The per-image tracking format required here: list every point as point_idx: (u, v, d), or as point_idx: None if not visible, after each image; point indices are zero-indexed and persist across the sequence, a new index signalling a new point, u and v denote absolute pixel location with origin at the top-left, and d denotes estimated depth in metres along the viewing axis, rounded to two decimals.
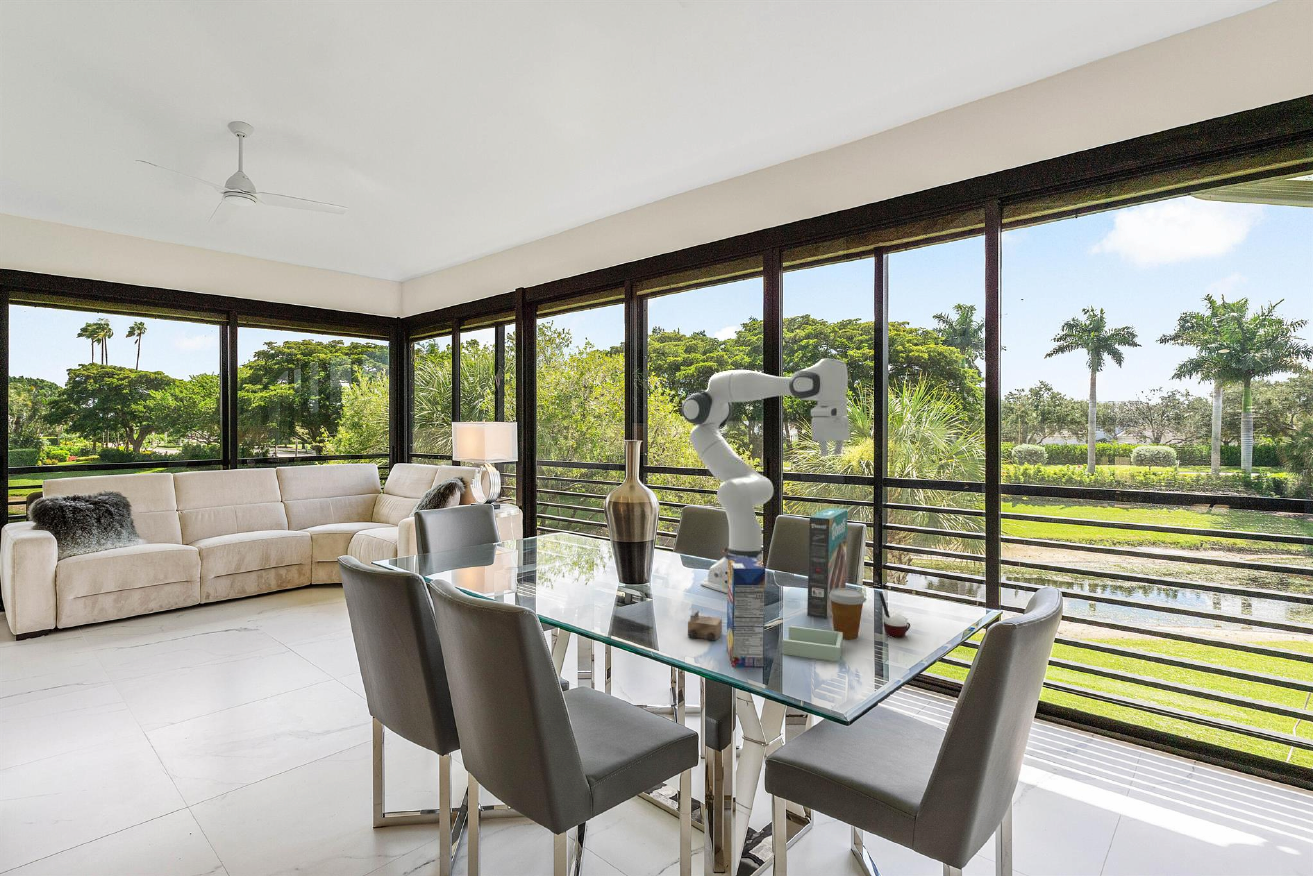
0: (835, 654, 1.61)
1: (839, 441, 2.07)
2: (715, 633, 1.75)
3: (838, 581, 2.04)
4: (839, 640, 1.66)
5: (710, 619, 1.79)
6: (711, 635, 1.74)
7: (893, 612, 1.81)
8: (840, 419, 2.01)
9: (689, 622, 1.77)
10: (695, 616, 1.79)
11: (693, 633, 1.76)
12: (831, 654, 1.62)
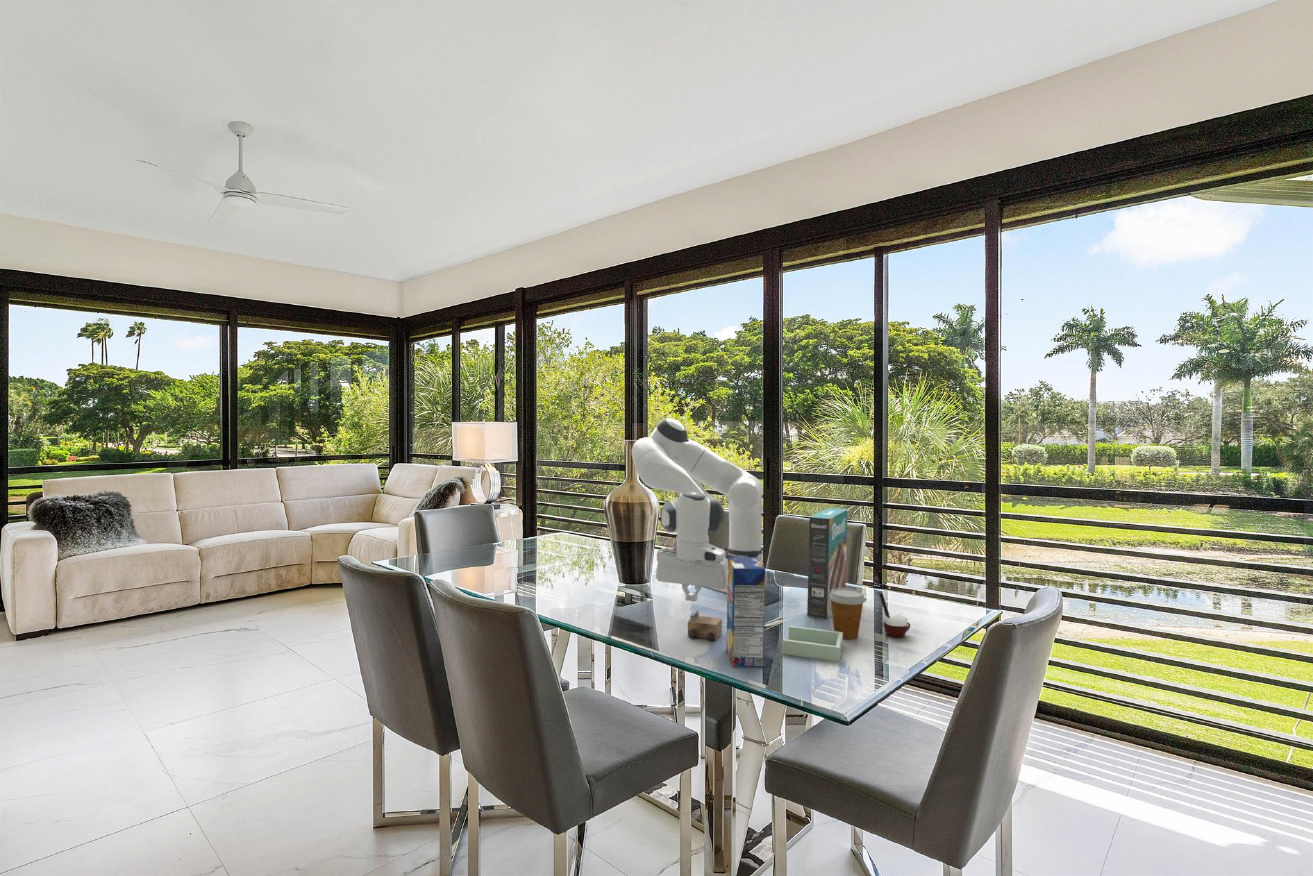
0: (835, 654, 1.61)
1: (688, 585, 1.80)
2: (715, 633, 1.75)
3: (838, 581, 2.04)
4: (839, 640, 1.66)
5: (710, 619, 1.79)
6: (711, 635, 1.74)
7: (893, 612, 1.81)
8: None
9: (689, 622, 1.77)
10: (695, 616, 1.79)
11: (693, 633, 1.76)
12: (831, 654, 1.62)
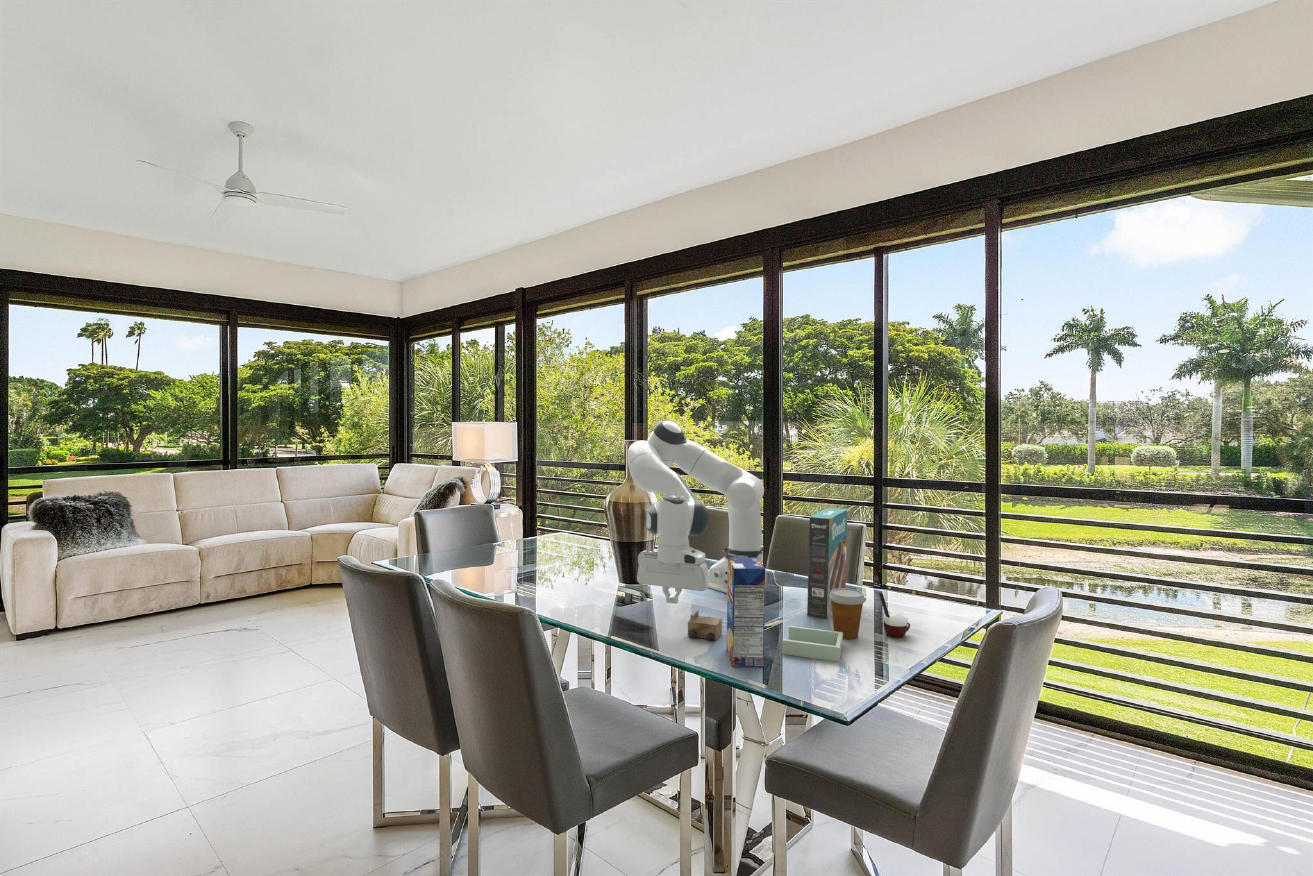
0: (835, 654, 1.61)
1: (668, 587, 1.82)
2: (715, 633, 1.75)
3: (838, 581, 2.04)
4: (839, 640, 1.66)
5: (710, 619, 1.79)
6: (711, 635, 1.74)
7: (893, 612, 1.81)
8: None
9: (689, 622, 1.77)
10: (695, 616, 1.79)
11: (693, 633, 1.76)
12: (831, 654, 1.62)
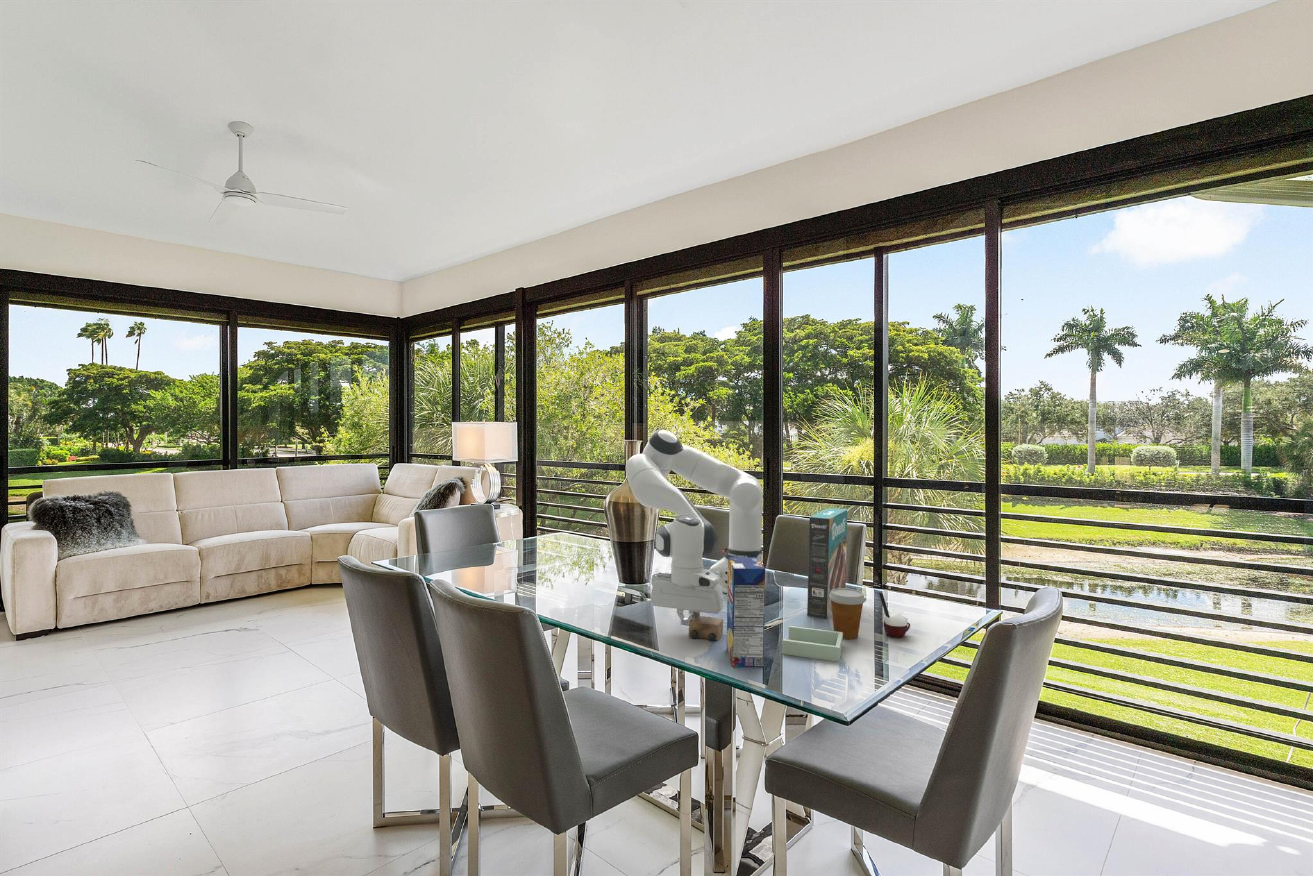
0: (835, 654, 1.61)
1: (683, 609, 1.81)
2: (716, 633, 1.74)
3: (838, 581, 2.04)
4: (839, 640, 1.66)
5: (711, 620, 1.78)
6: (712, 635, 1.74)
7: (893, 612, 1.81)
8: None
9: (690, 622, 1.77)
10: (696, 616, 1.79)
11: (694, 633, 1.76)
12: (831, 654, 1.62)
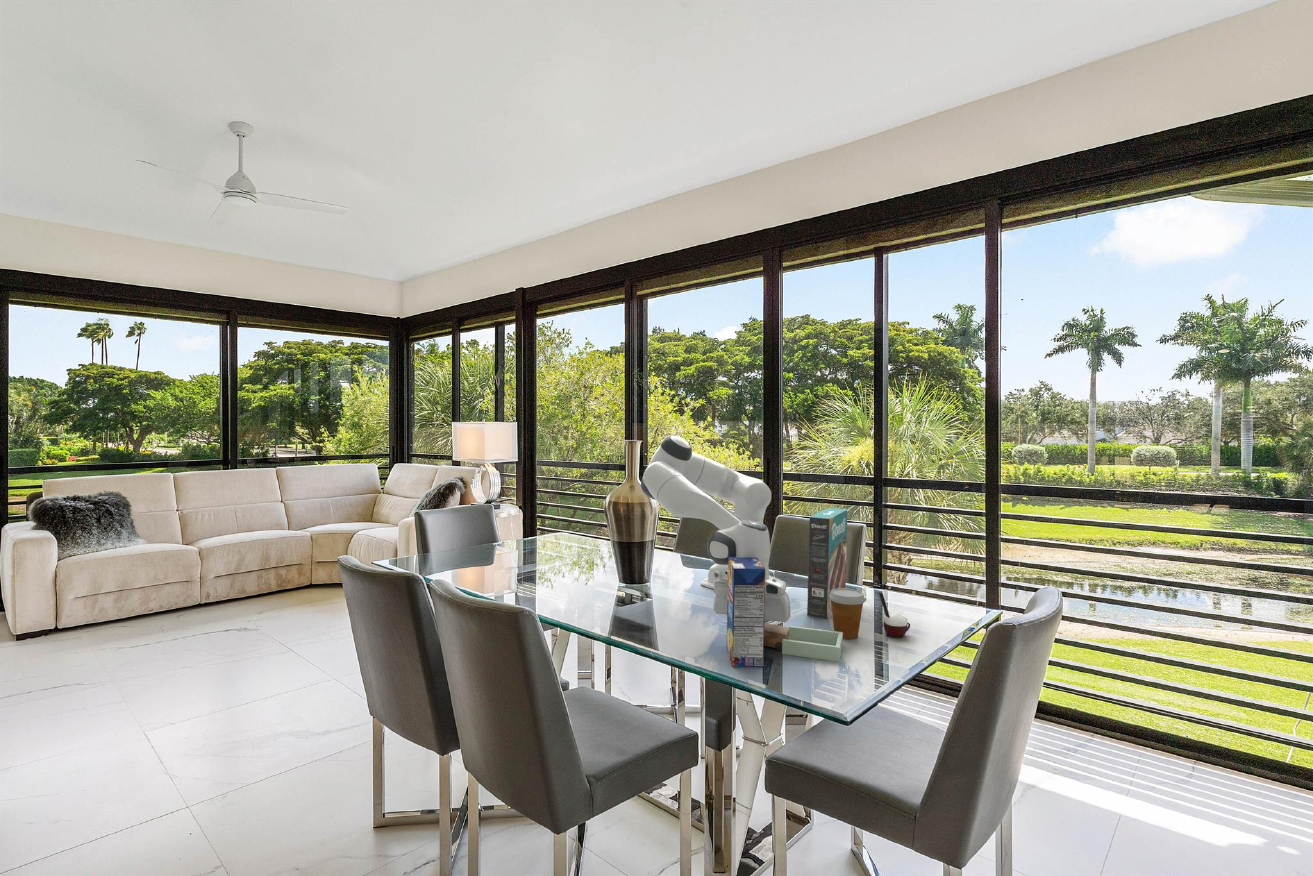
0: (835, 654, 1.61)
1: None
2: None
3: (838, 581, 2.04)
4: (839, 640, 1.66)
5: (778, 628, 1.72)
6: (780, 645, 1.68)
7: (893, 612, 1.81)
8: None
9: None
10: None
11: None
12: (831, 654, 1.62)
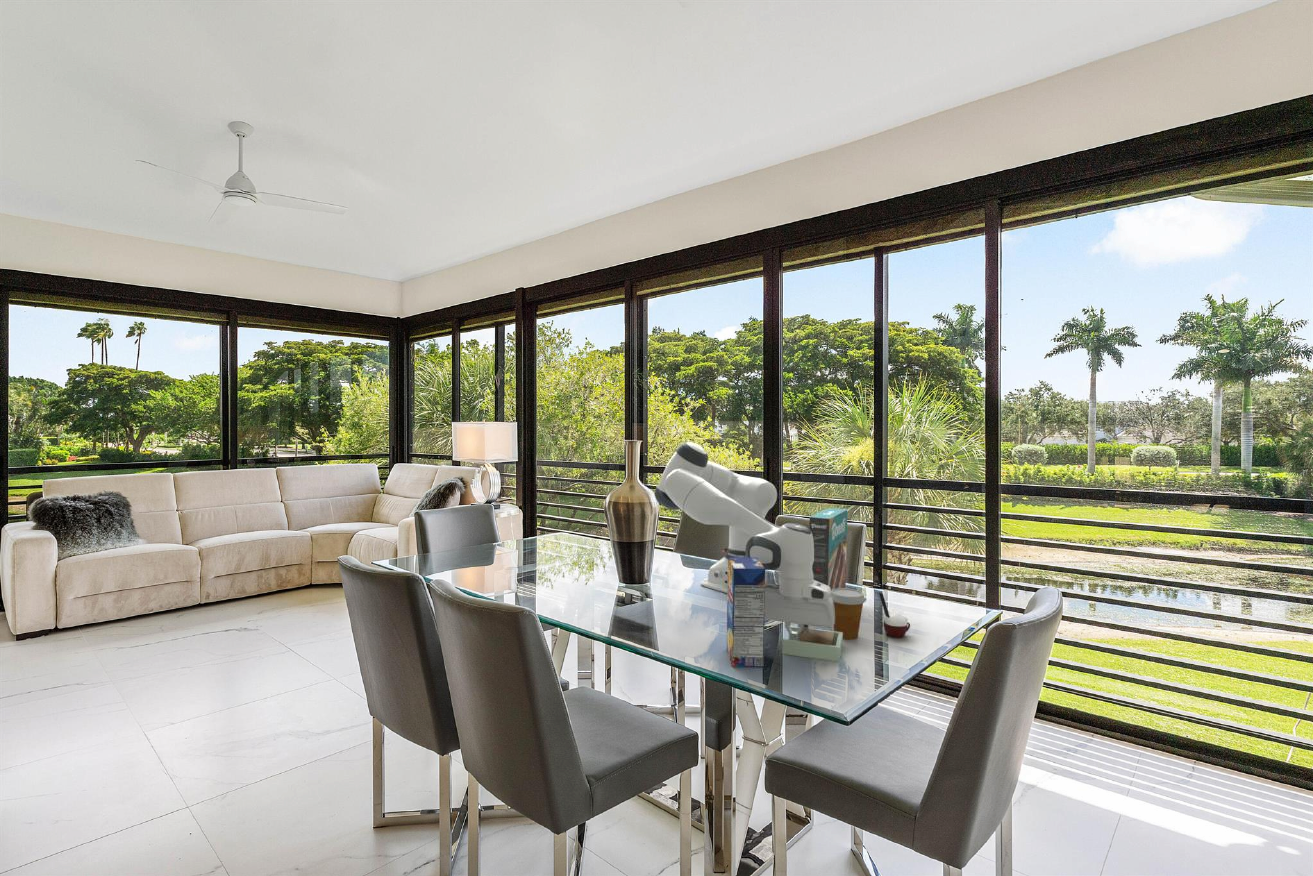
0: (835, 654, 1.61)
1: (790, 622, 1.71)
2: None
3: (838, 581, 2.04)
4: (839, 640, 1.66)
5: (822, 633, 1.68)
6: None
7: (893, 612, 1.81)
8: None
9: (801, 635, 1.67)
10: (807, 629, 1.69)
11: None
12: (831, 654, 1.62)
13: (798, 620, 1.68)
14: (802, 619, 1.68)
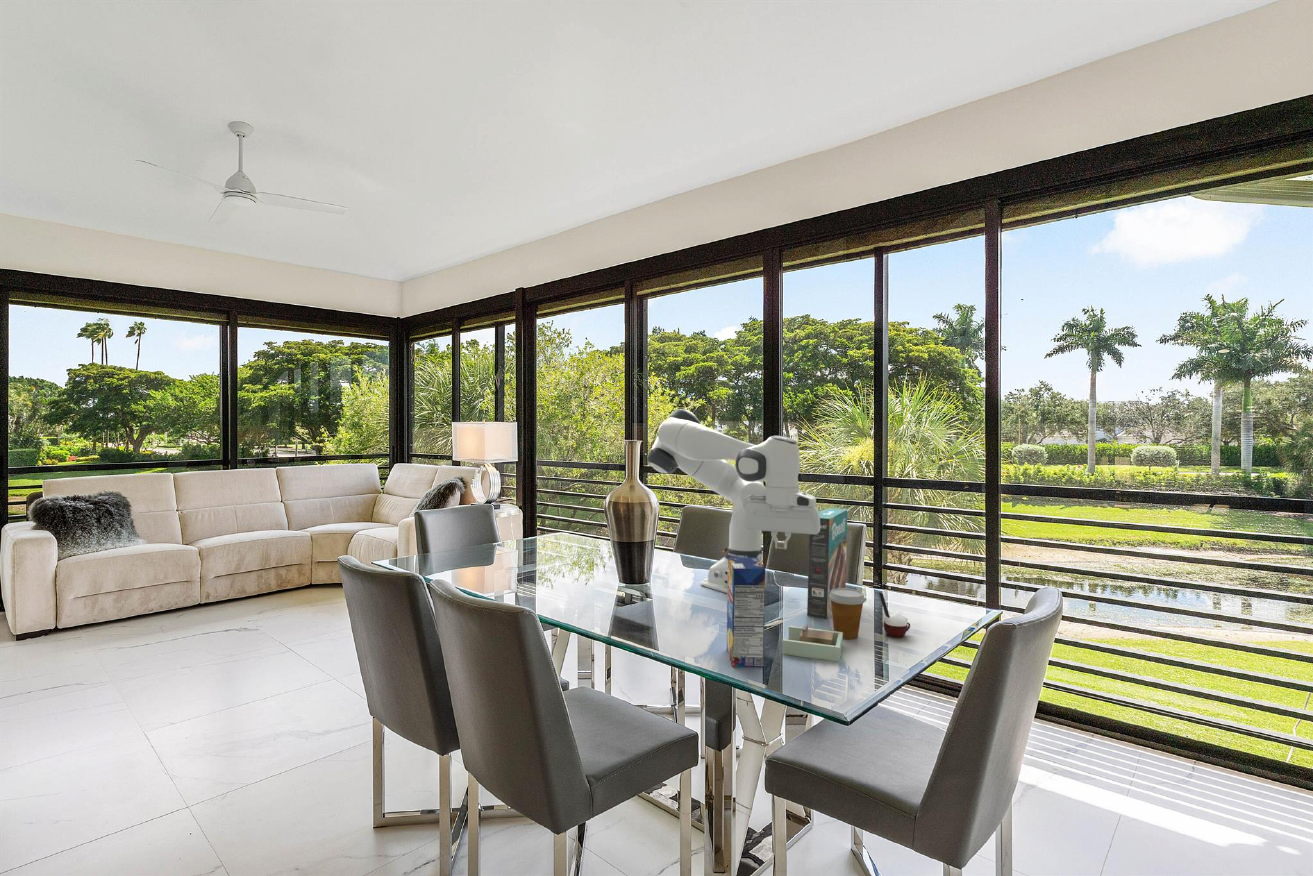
0: (835, 654, 1.61)
1: (777, 532, 1.75)
2: None
3: (838, 581, 2.04)
4: (839, 640, 1.66)
5: (822, 634, 1.69)
6: None
7: (893, 612, 1.81)
8: None
9: (801, 636, 1.67)
10: (806, 630, 1.69)
11: None
12: (831, 654, 1.62)
13: (784, 528, 1.73)
14: (788, 527, 1.72)
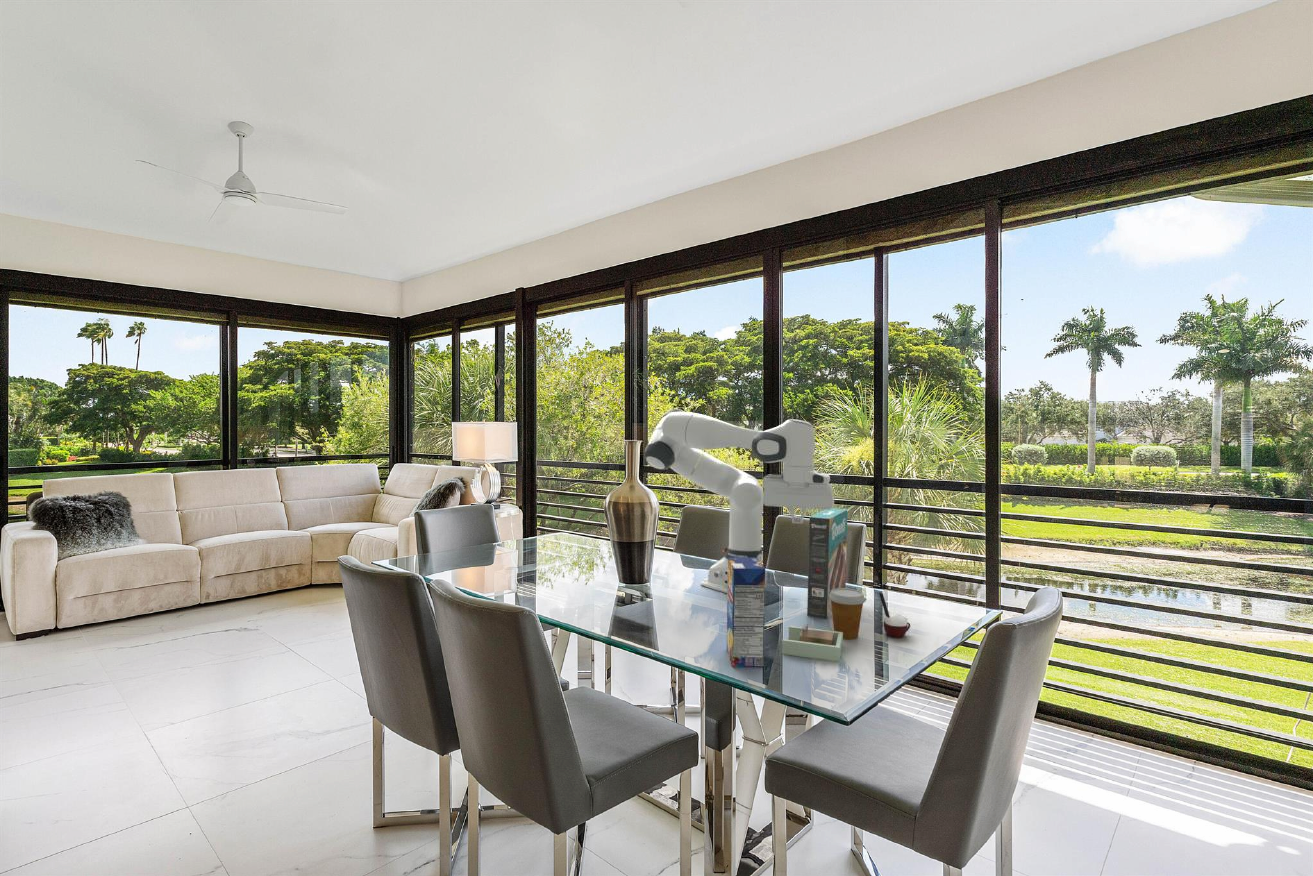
0: (835, 654, 1.61)
1: (793, 508, 1.90)
2: None
3: (838, 581, 2.04)
4: (839, 640, 1.66)
5: (822, 634, 1.69)
6: None
7: (893, 612, 1.81)
8: None
9: (801, 636, 1.67)
10: (806, 630, 1.69)
11: None
12: (831, 654, 1.62)
13: (801, 504, 1.87)
14: (804, 503, 1.87)
